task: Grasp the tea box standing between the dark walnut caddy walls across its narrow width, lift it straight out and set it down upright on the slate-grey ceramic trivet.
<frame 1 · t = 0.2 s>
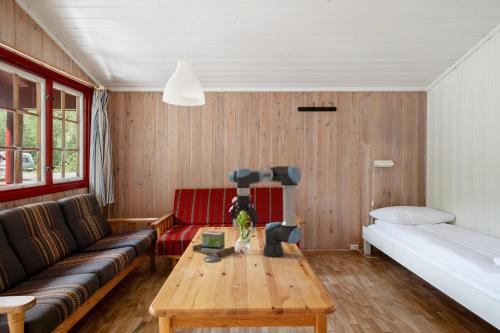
hand: (243, 231, 181), 28 cm above the table, fingers open, 13 cm apart
trivet: (212, 259, 217), on the table
caddy: (213, 251, 236), on the table
tea box: (213, 251, 236), resting in caddy
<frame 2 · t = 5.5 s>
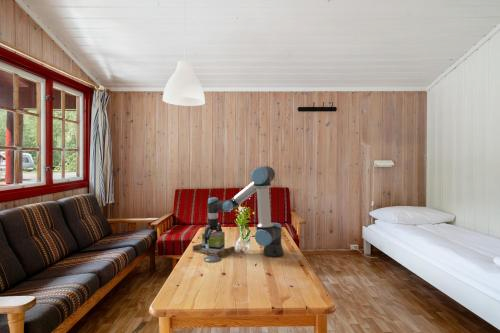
hand: (213, 246, 236), 4 cm above the table, fingers closed on tea box, 12 cm apart
tea box: (213, 251, 236), resting in caddy, touching gripper
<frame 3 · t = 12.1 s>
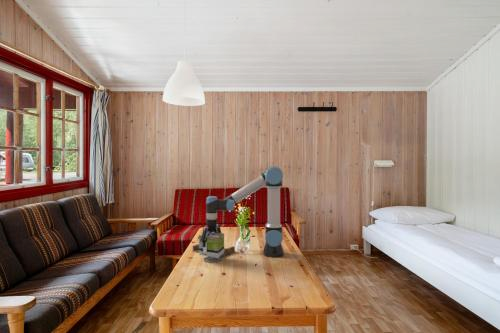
hand: (211, 249, 217), 7 cm above the table, fingers closed on tea box, 12 cm apart
tea box: (212, 254, 218), point 3 cm above the table, touching caddy, gripper
when the fingers open (7 cm above the table, at t = 12.9 s): tea box drops 2 cm, resting on trivet.
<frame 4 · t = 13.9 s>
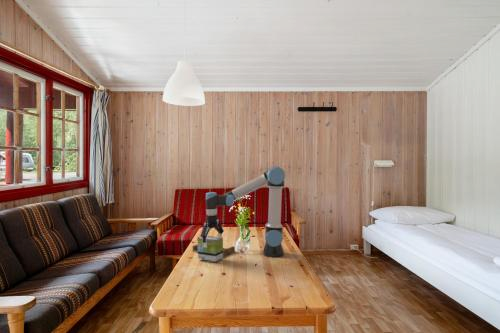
hand: (212, 244, 217), 10 cm above the table, fingers open, 13 cm apart
tea box: (210, 258, 217), point 1 cm above the table, touching gripper, trivet
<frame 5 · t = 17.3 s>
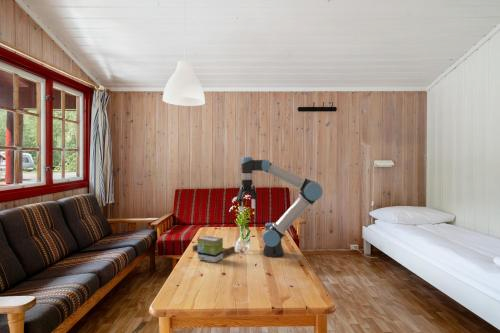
hand: (247, 209, 217), 35 cm above the table, fingers open, 13 cm apart
tea box: (210, 259, 217), point 1 cm above the table, touching trivet
at the end: tea box 1.5 cm from the trivet (horizontally); tea box tilted 0°; the gripper is holding nothing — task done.
